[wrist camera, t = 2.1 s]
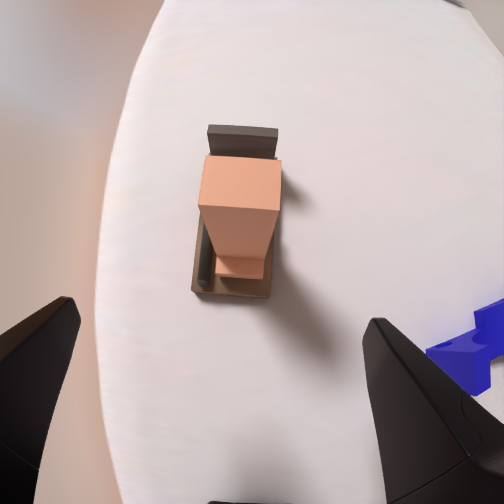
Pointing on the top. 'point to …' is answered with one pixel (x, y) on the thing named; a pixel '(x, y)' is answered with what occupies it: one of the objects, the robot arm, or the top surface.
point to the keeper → (240, 211)
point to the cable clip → (473, 350)
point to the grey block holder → (204, 277)
